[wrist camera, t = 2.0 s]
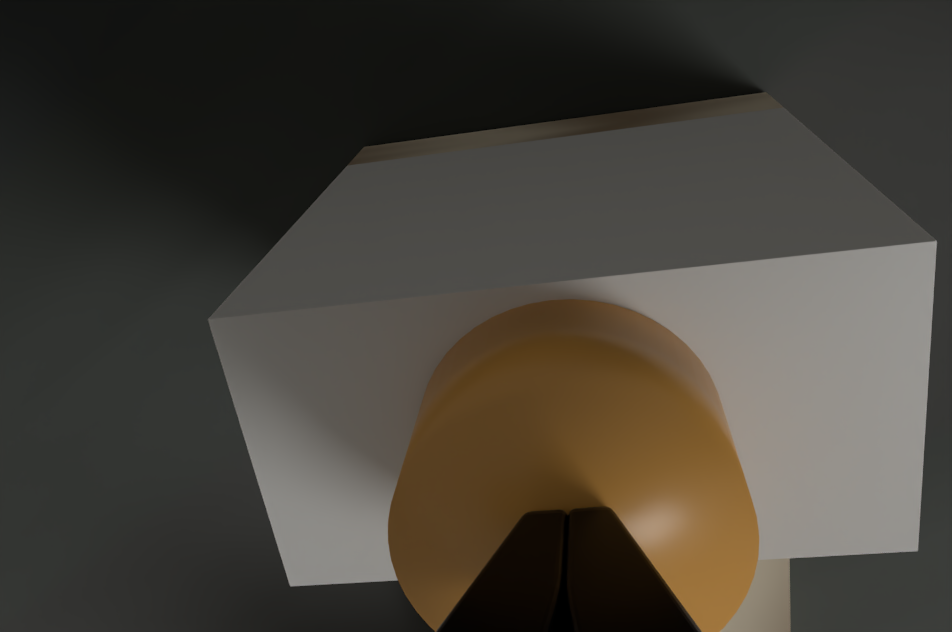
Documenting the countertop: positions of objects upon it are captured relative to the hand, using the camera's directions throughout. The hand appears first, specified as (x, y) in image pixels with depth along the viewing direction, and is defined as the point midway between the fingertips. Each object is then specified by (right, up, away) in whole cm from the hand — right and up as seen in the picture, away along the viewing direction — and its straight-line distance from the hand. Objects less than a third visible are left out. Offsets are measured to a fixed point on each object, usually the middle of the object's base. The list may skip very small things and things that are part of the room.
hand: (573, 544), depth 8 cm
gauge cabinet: (+1, +3, +8) cm, 9 cm away
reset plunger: (0, +1, +2) cm, 2 cm away
